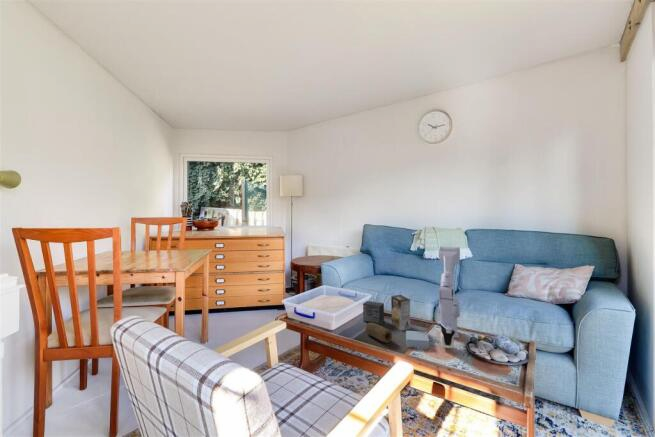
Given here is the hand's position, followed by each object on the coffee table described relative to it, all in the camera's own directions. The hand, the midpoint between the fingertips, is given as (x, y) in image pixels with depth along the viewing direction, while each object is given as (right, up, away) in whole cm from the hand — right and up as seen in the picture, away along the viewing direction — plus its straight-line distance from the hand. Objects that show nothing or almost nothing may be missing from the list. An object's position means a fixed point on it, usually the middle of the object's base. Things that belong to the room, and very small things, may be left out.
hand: (447, 342), depth 139 cm
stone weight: (-29, -4, +13) cm, 32 cm away
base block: (-12, -3, +6) cm, 14 cm away
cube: (0, -1, 0) cm, 1 cm away
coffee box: (-15, -2, +26) cm, 30 cm away
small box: (-28, -2, +34) cm, 44 cm away
